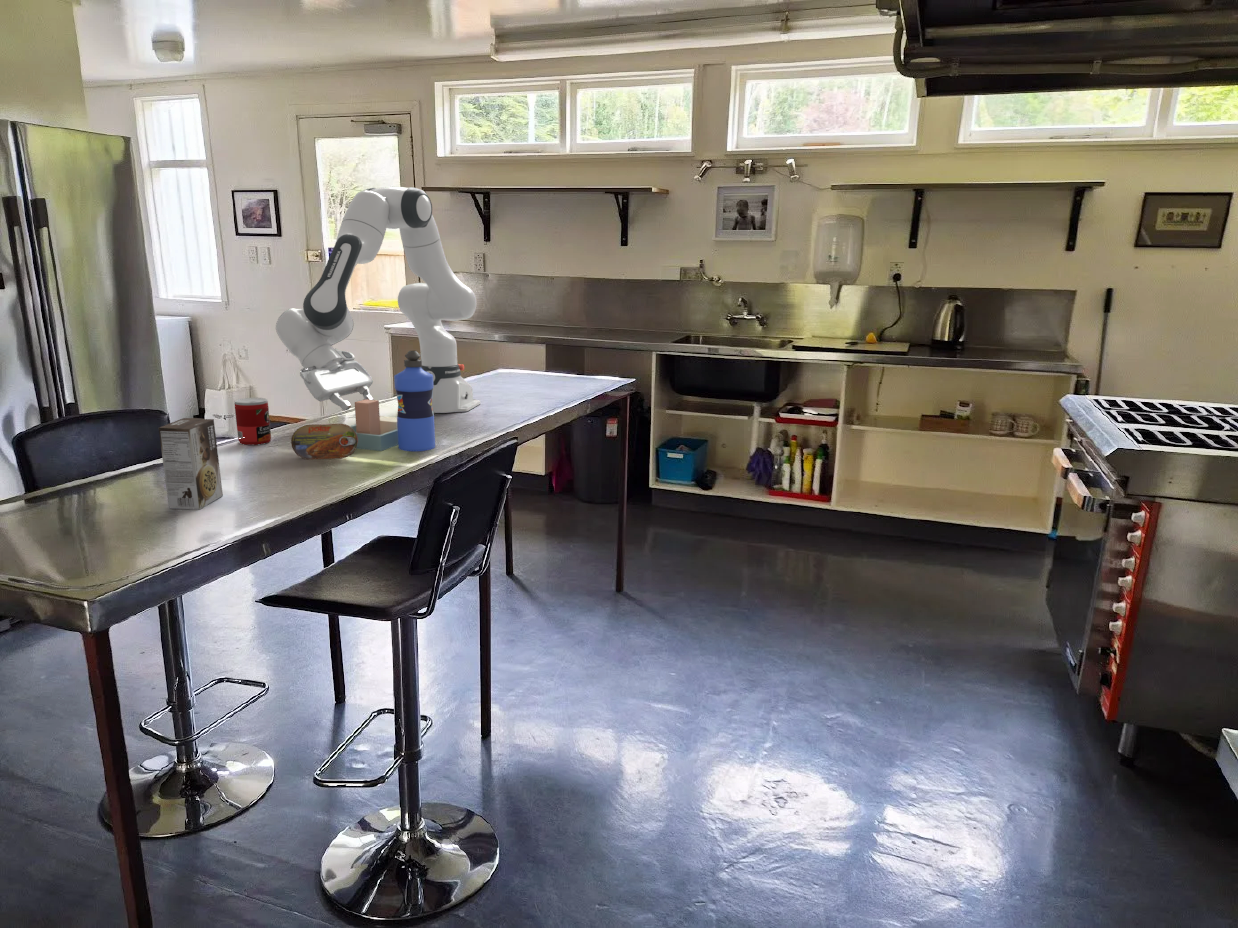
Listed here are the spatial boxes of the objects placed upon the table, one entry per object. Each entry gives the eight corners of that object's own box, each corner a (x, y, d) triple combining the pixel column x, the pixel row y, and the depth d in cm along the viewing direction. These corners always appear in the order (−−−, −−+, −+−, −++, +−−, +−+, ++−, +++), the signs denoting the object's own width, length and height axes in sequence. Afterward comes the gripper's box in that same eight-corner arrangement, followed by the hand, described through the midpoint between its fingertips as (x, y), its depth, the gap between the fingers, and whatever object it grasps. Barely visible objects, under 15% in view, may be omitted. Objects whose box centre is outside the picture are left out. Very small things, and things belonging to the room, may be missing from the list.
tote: (377, 434, 220) (376, 418, 219) (421, 439, 216) (420, 422, 214) (334, 448, 203) (332, 431, 202) (381, 454, 199) (380, 436, 198)
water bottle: (401, 455, 198) (396, 354, 191) (395, 447, 206) (390, 349, 200) (439, 452, 202) (435, 352, 195) (431, 444, 210) (427, 348, 203)
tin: (292, 460, 192) (289, 425, 190) (294, 457, 195) (291, 423, 193) (358, 458, 195) (356, 424, 193) (359, 455, 198) (357, 421, 196)
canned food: (263, 445, 205) (259, 403, 202) (232, 445, 205) (228, 402, 202) (276, 439, 212) (273, 397, 210) (246, 438, 213) (242, 397, 210)
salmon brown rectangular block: (367, 441, 208) (365, 399, 206) (381, 442, 207) (378, 400, 204) (357, 444, 204) (354, 402, 202) (370, 446, 203) (368, 403, 200)
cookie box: (192, 495, 164) (183, 417, 160) (224, 496, 164) (215, 418, 159) (167, 509, 155) (156, 427, 151) (200, 510, 155) (190, 427, 151)
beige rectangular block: (379, 434, 217) (378, 415, 215) (408, 437, 214) (407, 418, 213) (367, 437, 212) (366, 419, 211) (397, 441, 209) (396, 422, 208)
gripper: (303, 361, 194) (340, 404, 193) (355, 352, 212) (389, 391, 212) (289, 378, 196) (326, 421, 196) (342, 367, 215) (376, 406, 214)
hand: (359, 405), depth 204 cm, fingers open, 8 cm apart
